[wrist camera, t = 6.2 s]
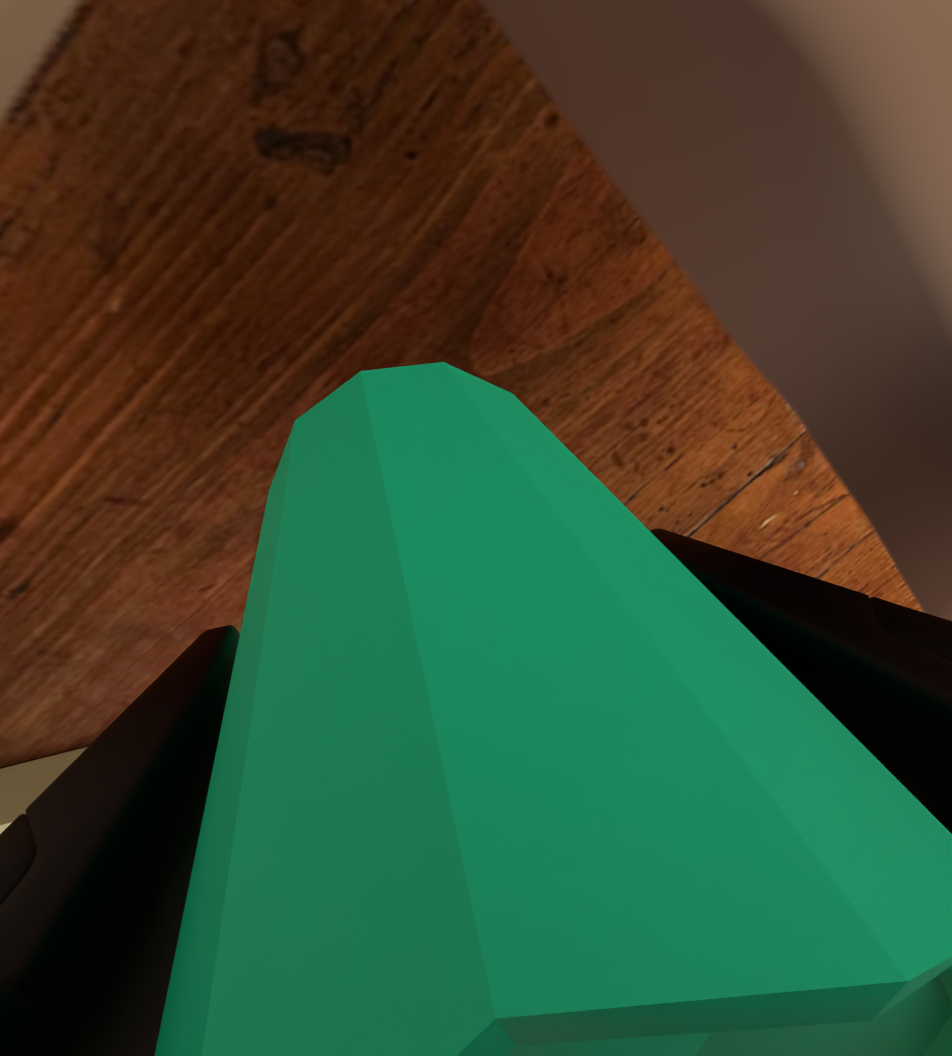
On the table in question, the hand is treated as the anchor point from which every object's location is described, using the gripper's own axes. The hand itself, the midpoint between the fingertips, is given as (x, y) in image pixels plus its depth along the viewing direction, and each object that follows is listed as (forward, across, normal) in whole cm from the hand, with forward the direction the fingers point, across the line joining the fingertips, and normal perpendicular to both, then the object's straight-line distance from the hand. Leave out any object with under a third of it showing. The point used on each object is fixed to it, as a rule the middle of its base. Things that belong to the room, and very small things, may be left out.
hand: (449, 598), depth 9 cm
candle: (+4, 0, 0) cm, 4 cm away
